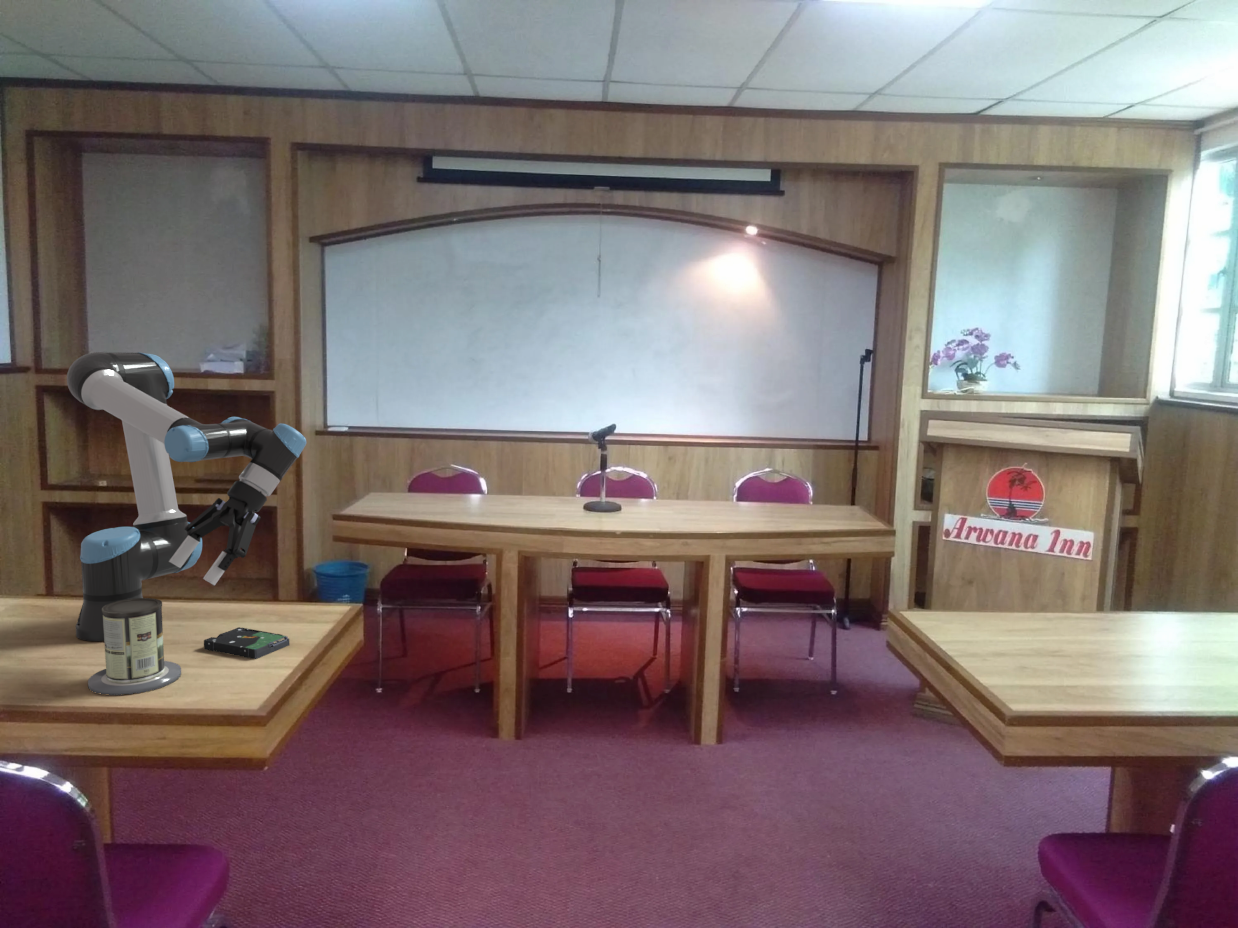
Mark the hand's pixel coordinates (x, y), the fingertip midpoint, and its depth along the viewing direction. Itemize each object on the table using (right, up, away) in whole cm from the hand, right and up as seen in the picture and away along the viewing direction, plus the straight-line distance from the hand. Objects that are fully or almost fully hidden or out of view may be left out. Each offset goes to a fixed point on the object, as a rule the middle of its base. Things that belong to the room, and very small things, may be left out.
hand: (191, 573), depth 176 cm
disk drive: (+6, -19, +12) cm, 23 cm away
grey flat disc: (-7, -20, -8) cm, 23 cm away
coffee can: (-7, -19, -8) cm, 22 cm away
